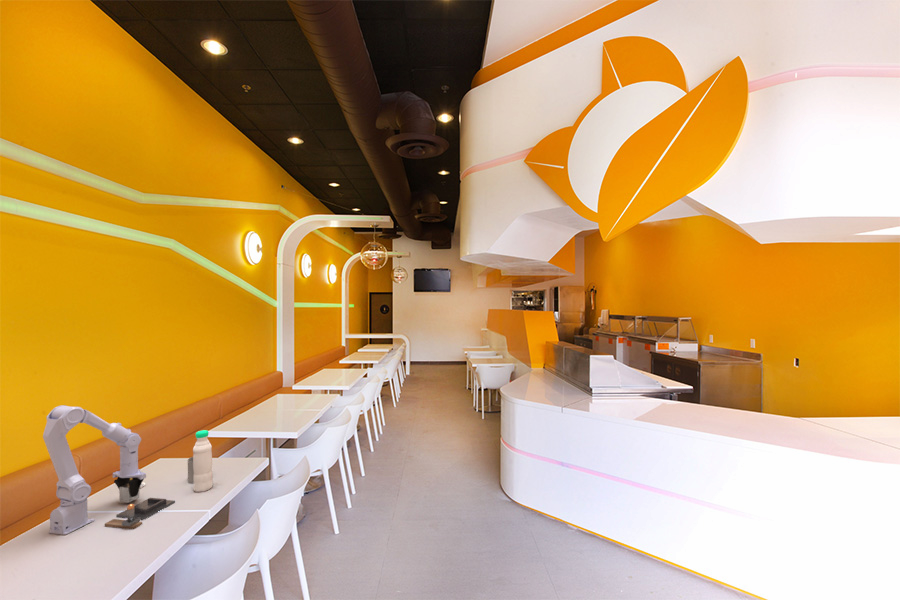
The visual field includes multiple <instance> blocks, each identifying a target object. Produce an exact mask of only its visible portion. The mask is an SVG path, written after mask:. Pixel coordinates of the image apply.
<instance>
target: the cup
mask: <svg viewBox="0 0 900 600" xmlns="http://www.w3.org/2000/svg"><path fill="white" fill-rule="evenodd" d="M193 477H194V470H193V456H191V457H189V458H188V459H187V483H188V484H190V485H191V484H192V485H194V479H193Z"/></svg>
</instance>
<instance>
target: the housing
mask: <svg viewBox="0 0 900 600" xmlns="http://www.w3.org/2000/svg"><path fill="white" fill-rule="evenodd" d="M118 490H119V492H118V493H119V502H120V503H126V504H128V503H131V502H133V501H136V500H137V499H140V490H139V491H138V495H136V496H134V497H131V492H130V487H129V484H125V485H123V486H121V487H119V488H118Z"/></svg>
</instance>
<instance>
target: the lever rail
mask: <svg viewBox="0 0 900 600" xmlns="http://www.w3.org/2000/svg"><path fill="white" fill-rule="evenodd" d="M125 520H126V519H118V518H117V519H116V518H112V519H111V520H109V521H107V522H105V523H104V527H108V528H116V529H126V530H135V529H137V528H139V527H141V526H142V525H143V521H141V520H140V521H139V522H137V523H135V524H134V525H132V526H122V522H123V521H125ZM141 524H142V525H141ZM140 525H141V526H140Z"/></svg>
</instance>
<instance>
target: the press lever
mask: <svg viewBox="0 0 900 600" xmlns="http://www.w3.org/2000/svg"><path fill="white" fill-rule="evenodd" d="M135 505H136V504H134V503H130V504H128V505H127V507H126V510H127V517H128V518H126V519H124V520H125V521H123V522H122V526H132V525H134V524H135V523H137V522H139V521H140V522H141V519H140V518H139V517H135V510H134V507H135Z"/></svg>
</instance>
